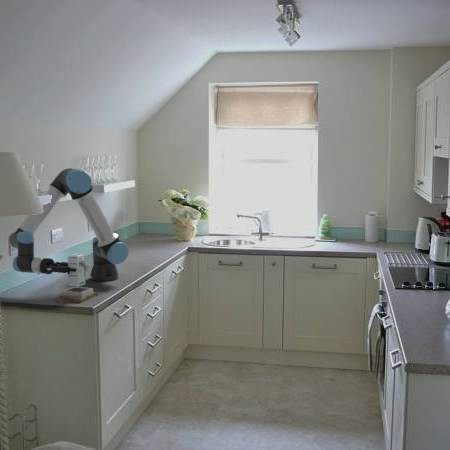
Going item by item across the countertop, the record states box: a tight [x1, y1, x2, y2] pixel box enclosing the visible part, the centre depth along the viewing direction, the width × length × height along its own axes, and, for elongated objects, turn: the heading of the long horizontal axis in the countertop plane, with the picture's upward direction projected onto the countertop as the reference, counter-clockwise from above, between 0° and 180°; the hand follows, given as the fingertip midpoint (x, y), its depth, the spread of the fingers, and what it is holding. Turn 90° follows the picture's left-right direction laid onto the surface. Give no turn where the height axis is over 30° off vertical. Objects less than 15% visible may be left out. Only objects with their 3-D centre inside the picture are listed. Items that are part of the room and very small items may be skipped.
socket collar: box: [61, 286, 94, 298], centre depth 300 cm, size 10×10×2 cm
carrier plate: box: [56, 291, 98, 304], centre depth 300 cm, size 16×12×2 cm
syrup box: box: [67, 253, 87, 287], centre depth 299 cm, size 6×6×14 cm
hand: (86, 269), depth 297 cm, fingers closed on syrup box, 6 cm apart
